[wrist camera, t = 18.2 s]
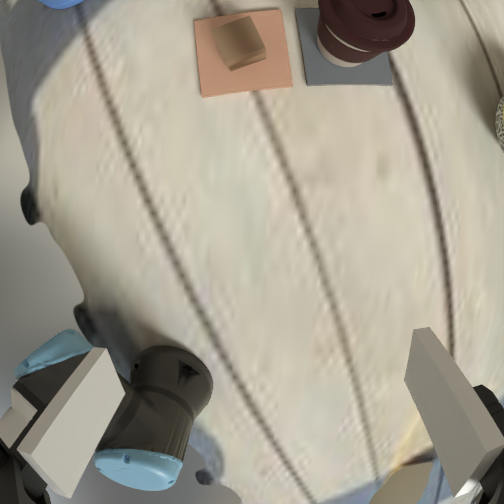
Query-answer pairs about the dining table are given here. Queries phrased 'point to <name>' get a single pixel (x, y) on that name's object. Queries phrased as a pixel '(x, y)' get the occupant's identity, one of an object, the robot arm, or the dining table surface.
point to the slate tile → (329, 73)
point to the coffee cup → (362, 29)
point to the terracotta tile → (249, 77)
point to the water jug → (61, 3)
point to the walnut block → (240, 43)
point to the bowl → (500, 122)
